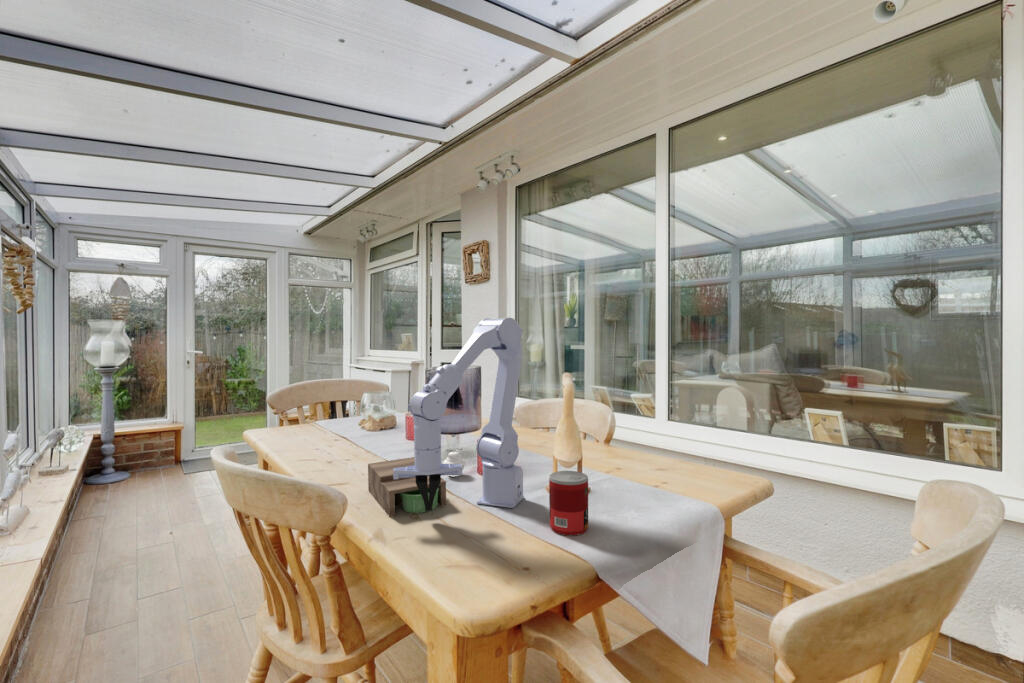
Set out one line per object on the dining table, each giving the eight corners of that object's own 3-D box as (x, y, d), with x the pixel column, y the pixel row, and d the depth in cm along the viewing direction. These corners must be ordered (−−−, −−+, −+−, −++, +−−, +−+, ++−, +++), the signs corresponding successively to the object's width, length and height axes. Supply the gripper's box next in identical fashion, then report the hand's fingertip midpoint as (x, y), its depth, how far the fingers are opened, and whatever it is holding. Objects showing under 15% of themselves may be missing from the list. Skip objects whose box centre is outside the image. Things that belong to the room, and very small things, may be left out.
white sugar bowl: (467, 472, 138) (466, 448, 138) (462, 479, 132) (462, 454, 132) (446, 472, 139) (446, 448, 139) (440, 478, 133) (440, 453, 132)
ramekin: (447, 505, 113) (446, 486, 113) (419, 517, 106) (419, 498, 105) (420, 497, 118) (420, 479, 118) (391, 509, 111) (391, 490, 110)
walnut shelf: (446, 505, 113) (445, 476, 112) (389, 517, 106) (389, 485, 106) (418, 482, 130) (418, 456, 130) (368, 490, 123) (368, 463, 123)
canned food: (593, 534, 96) (593, 480, 96) (554, 537, 95) (554, 483, 95) (581, 519, 104) (581, 469, 103) (545, 522, 102) (545, 471, 102)
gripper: (460, 440, 108) (461, 500, 109) (394, 444, 106) (395, 504, 106) (462, 448, 101) (463, 512, 102) (392, 452, 99) (393, 517, 99)
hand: (428, 509), depth 103 cm, fingers closed
